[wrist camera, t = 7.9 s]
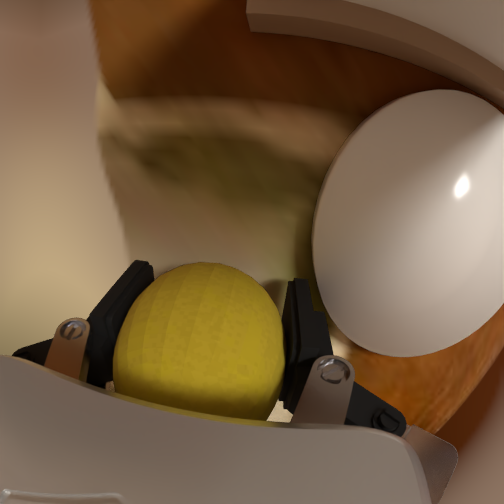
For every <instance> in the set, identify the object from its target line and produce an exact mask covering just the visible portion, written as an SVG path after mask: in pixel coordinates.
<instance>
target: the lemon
mask: <svg viewBox="0 0 504 504" xmlns="http://www.w3.org/2000/svg"><path fill="white" fill-rule="evenodd" d="M286 350H287V346H286V337H285V332H284V328H283V325H282V321H281V318H280V315H279V312H278V309H277V307H276V305H275V304H274V302H273V301H272V299H271V298H270V296H269V295H268V293H267V292H266V290H265V289H264V288H263V287H262V286H261V285H260V284H258V283H257V282H256V281H255V280H254V279H253V278H252V277H250V276H249V275H247V274H245V273H243V272H241V271H239V270H238V269H236V268H233V267H230V266H227V265H223V264H220V263H206V262H198V263H193V264H187V265H182V266H179V267H177V268H175V269H173V270H171V271H169V272H166V273H164V274H163V275H161V276H159V277H158V278H157V279H156V280H155V281H153V282H152V283H151V284H150V285H149V286H148V287H147V288H146V289H145V290H144V291H143V292H142V293H141V294H140V295H139V296H138V297H137V299H136V300H135V301H134V303H133V304H132V306H131V308H130V310H129V312H128V314H127V316H126V318H125V320H124V322H123V325H122V327H121V329H120V332H119V335H118V338H117V341H116V345H115V349H114V356H113V382H114V388H115V392H116V393H118V394H122V395H125V396H129V397H132V398H136V399H139V400H143V401H147V402H151V403H155V404H159V405H164V406H168V407H173V408H177V409H182V410H188V411H193V412H199V413H204V414H210V415H217V416H224V417H231V418H239V419H248V420H259V421H266V420H267V419H268V417H269V415H270V414H271V412H272V410H273V408H274V407H275V404H276V402H277V400H278V398H279V395H280V392H281V389H282V385H283V381H284V375H285V367H286Z"/></svg>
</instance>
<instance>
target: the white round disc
mask: <svg viewBox="0 0 504 504" xmlns="http://www.w3.org/2000/svg"><path fill="white" fill-rule="evenodd" d="M311 242H312V259H313V265H314V272H315V276H316V280H317V285H318V288H319V291H320V295H321V298H322V301H323V304H324V306H325V308H326V310H327V312H328V314H329V316H330V317H331V319H332V320H333V321H334V323H335V324H336V326H337V327H338V328H339V329H340V330H341V331H342V332H343V333H344V334H345V335H346V336H347V337H348V338H349V339H350V340H352V341H353V342H355V343H356V344H357V345H359V346H361V347H363V348H365V349H367V350H369V351H372V352H375V353H378V354H382V355H387V356H394V357H411V356H420V355H425V354H429V353H433V352H436V351H439V350H442V349H445V348H447V347H449V346H451V345H453V344H455V343H457V342H459V341H461V340H462V339H464V338H466V337H467V336H469V335H470V334H472V333H473V332H474V331H476V330H477V329H479V328H480V327H481V326H482V325H483V324H484V323H485V322H487V321H488V320H489V319H490V318H491V317H492V316H493V315H494V314H495V313H496V312H497V310H498V309H499V308H500V307H501V306H502V304H503V303H504V115H503V114H502V113H501V112H500V111H499V110H498V109H497V108H495V107H494V106H492V105H491V104H489V103H488V102H486V101H485V100H483V99H481V98H479V97H476V96H474V95H472V94H469V93H465V92H461V91H457V90H440V89H438V90H430V91H423V92H417V93H412V94H408V95H405V96H402V97H400V98H397V99H394V100H392V101H391V102H389V103H387V104H385V105H384V106H382V107H380V108H379V109H377V110H376V111H374V112H373V113H372V114H371V115H370V116H368V117H367V118H366V119H365V120H364V121H362V122H361V123H360V124H359V126H358V127H357V128H356V129H355V130H354V131H353V132H352V133H351V134H350V136H349V137H348V138H347V139H346V141H345V142H344V144H343V145H342V147H341V148H340V150H339V151H338V153H337V154H336V155H335V157H334V159H333V161H332V163H331V165H330V167H329V169H328V171H327V173H326V175H325V178H324V181H323V184H322V186H321V189H320V192H319V195H318V198H317V203H316V207H315V212H314V216H313V225H312V235H311Z"/></svg>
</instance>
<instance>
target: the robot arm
mask: <svg viewBox="0 0 504 504" xmlns="http://www.w3.org/2000/svg"><path fill="white" fill-rule="evenodd" d="M153 281H154V274H153V267H152V265H149V262H147V261H140V260H135V261H134V262H133V263H132V264H131V265H130V267H129V268H128V269H127V270H126V271H125V272H124V273H123V275H122V276H121V277H120V278H119V279H118V280H117V282H116V283H115V284H114V285H113V286H112V287H111V289H110V290H109V291H108V292H107V294H106V295H105V296H104V297H103V298H102V299H101V301H100V302H99V303H98V305H97V306H96V307H95V308H94V309H93V311H92V312H91V313H90V316H89V317H88V318H87V320H85V319H82V318H71V319H68V320H65V321H64V322H62V323H61V324H60V325H59V326H58V328H57V330H56V333H55V335H54V338H52V339H49V340H46V341H43V342H40V343H36V344H33V345H30V346H26V347H23V348H21V349H18V350H17V351H16V352H14V353H13V355H12V356H9V355H0V504H438V503H439V501H440V499H441V498H442V495H443V493H444V491H445V489H446V487H447V485H448V482H449V480H450V478H451V476H452V474H453V471H454V469H455V466H456V464H457V460H458V455H457V451H456V449H455V448H454V447H453V446H452V445H451V444H449V443H447V442H445V441H443V440H442V439H440V438H438V437H436V436H434V435H432V434H430V433H428V432H426V431H425V430H423V429H421V428H419V427H417V426H415V425H414V424H413V425H412V426H411V427H410V426H409V425H407V423H406V420H405V417H404V416H403V414H402V413H401V412H400V411H398V410H397V409H396V408H394V407H393V406H391V405H389V404H388V403H386V402H385V401H383V400H382V399H380V398H379V397H377V396H375V395H374V394H372V393H371V392H369V391H368V390H366V389H365V388H363V387H362V386H360V385H359V384H357V383H356V382H354V377H355V371H354V369H353V366H352V365H351V364H350V363H349V362H348V361H347V360H345V359H344V358H341V357H339V356H334V355H333V350H332V345H331V340H330V335H329V331H328V326H327V321H326V317H325V313H324V312H320V311H313V305H312V300H311V294H310V289H309V283H308V279H300V278H294V280H293V281H289V282H288V286H287V292H286V298H285V304H284V309H283V315H282V320H281V321H282V325H283V328H284V332H285V337H286V346H287V350H286V367H285V375H284V381H283V385H282V389H281V392H280V395H279V398H278V400H279V401H283V409H287V410H288V411H289V412H290V413H292V414H293V417H292V419H291V421H290V423H286V422H272V421H259V420H248V419H239V418H231V417H224V416H217V415H210V414H204V413H199V412H193V411H188V410H182V409H177V408H173V407H168V406H164V405H159V404H155V403H151V402H147V401H143V400H139V399H136V398H132V397H129V396H125V395H122V394H118V393H115V392H112V391H110V385H111V384H110V381H113V356H114V349H115V345H116V341H117V338H118V335H119V332H120V329H121V327H122V325H123V322H124V320H125V318H126V316H127V314H128V312H129V310H130V308H131V306H132V304H133V303H134V301H135V300H136V299H137V297H138V296H139V295H140V294H141V293H142V292H143V291H144V290H145V289H146V288H147V287H148V286H149V285H150V284H151V283H152V282H153Z"/></svg>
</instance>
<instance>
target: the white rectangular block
mask: <svg viewBox="0 0 504 504" xmlns="http://www.w3.org/2000/svg"><path fill="white" fill-rule="evenodd" d="M246 16H247V19H248V23H249V27H250V31H251V32H263V33H276V34H286V35H295V36H302V37H309V38H316V39H322V40H327V41H332V42H337V43H342V44H347V45H351V46H355V47H359V48H363V49H367V50H371V51H374V52H378V53H381V54H385V55H388V56H391V57H394V58H397V59H400V60H403V61H406V62H409V63H412V64H414V65H417V66H420V67H422V68H425V69H427V70H430V71H432V72H434V73H437V74H439V75H441V76H444V77H446V78H448V79H450V80H452V81H454V82H457V83H459V84H461V85H463V86H465V87H467V88H469V89H471V90H472V91H474V92H476V93H478V94H480V95H482V96H483V97H485V98H487V99H489V100H490V101H492V102H494V103H495V104H497V105H499V106H500V107H502V108H503V109H504V0H247V6H246Z"/></svg>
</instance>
